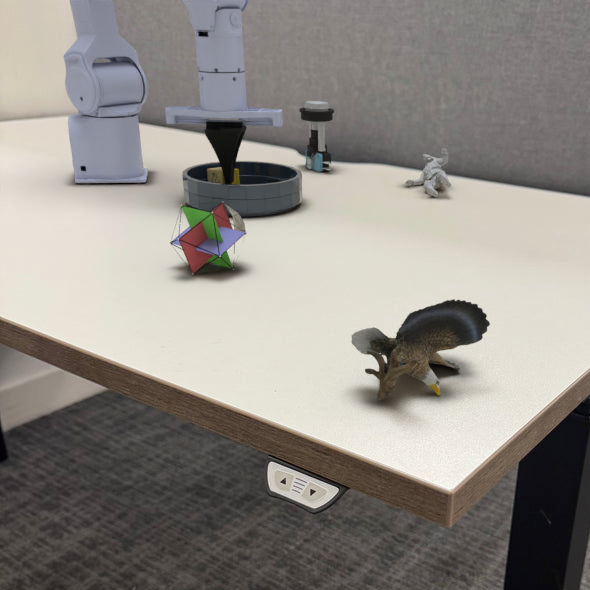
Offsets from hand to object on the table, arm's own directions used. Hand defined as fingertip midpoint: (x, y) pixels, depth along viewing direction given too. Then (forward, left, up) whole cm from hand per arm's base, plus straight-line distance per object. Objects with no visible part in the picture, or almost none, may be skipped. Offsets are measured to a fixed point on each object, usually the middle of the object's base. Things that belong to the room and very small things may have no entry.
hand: (229, 182), depth 104 cm
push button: (+15, +20, -3) cm, 25 cm away
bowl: (+2, -1, -3) cm, 3 cm away
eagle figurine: (+11, -57, -3) cm, 58 cm away
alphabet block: (-1, +3, -2) cm, 3 cm away
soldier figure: (+30, +6, -3) cm, 30 cm away
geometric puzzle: (-3, -28, -3) cm, 28 cm away
